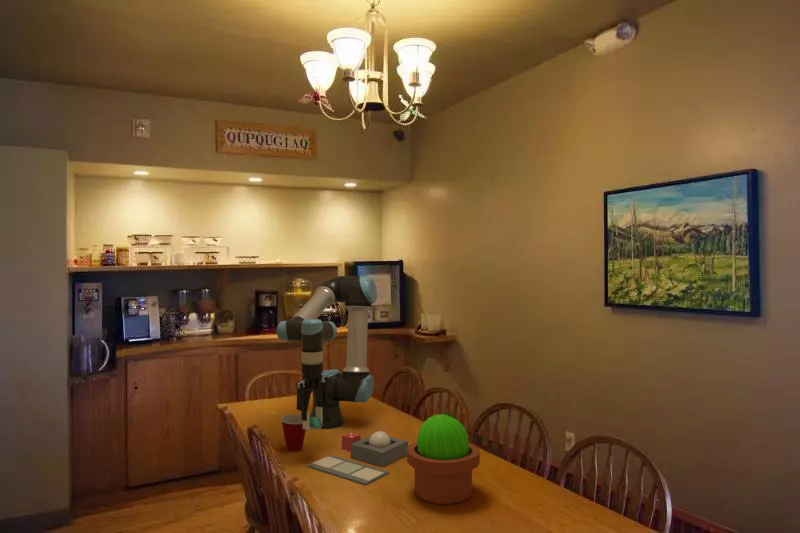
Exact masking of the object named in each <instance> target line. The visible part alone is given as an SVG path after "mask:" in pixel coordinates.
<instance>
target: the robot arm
mask: <svg viewBox="0 0 800 533" xmlns="http://www.w3.org/2000/svg"><path fill="white" fill-rule="evenodd" d="M377 298H378V291H377V286H376V282H375V281H374V279H373V278H372V277H371V276H366V275H365V276H364V275H355V276H354V275H349V276H347V275H346V276H344V275H338V276H334V277H332V278H329V279H327V280H326V281H324V282H323V283H321V284H320V285H319V286H318V287H317V288H316V289H315V291H314V292H313V296H311V298H309V299H308V301H307V302H305V303H304V305H302V307H301V308H300V309H299V310H298V311H297V312H296V313H295V314H294V315H293V316H292V317H291V319H289V320H281V321H280V322H278V323H277V326H276V335H277V336H276V337H277V338H278V339H279V340H280V341H285V342H301V362H302V364H301V374H302V379H301V381H300V382H298V381H297V382H296V383H295V385H296V410H297V411H300V413H301V414H300V415H301V418H302V420H303V429H306V430H305V431H309V430H311V429H310V425H309V419H310V418H311V417H317V418H319V420H320V422H322V423H323V425H322V426H321V427H322V428H321V429H333V428H338V427H341V426H342V425H344V423H345V419H344V415H343V412H342V409H341V404H340V403H341V402H345V403H346V402H348V403H356V404H358V403H363V404H364V403H367V402H368V401H369V400H370V399H371V397H372V394H373V393H374V392H373V391H374V388H375V378H374V376H373V375H371V374H370V369H369V368H368V367H367V360H368V359H367V356H368V352H367V351H368V330H369V329H368V326H369V325H368V323H369V321H368V320H369V311H370V310H371V309H372V307H373V305H372V304H375V303H376V302H377ZM337 303H345V304H344V307H345V309H346V310H347V311H348V314H347V316H348V317H347V336H346V337H347V338H346V339H347V343H346V365H345V367H344V368H343V369H342V373H341V372H340V370H339V369H338V368H337V369H336V368H333V369H332V368H331V369H324V368H323V367H324V366H323V365H324V364H323V362H324V361H323V360H324V357H323V356H324V352H323V348H324V347H323V344H324V343H328V342H330V341H332V340H333V339H335V338H336V336H337V333H338V329H337V326H336V324H335V323H334V322H333V321H330V320H329V321H328V320H327V321H325V320H323V321H322V320H321V319H318V318H319V317H320V316H321V314H322V313H323V312H324V311H325V310H327V308H328V307H331V306H332V305H333V304H337ZM311 394H312V408H311V411H309V405H310V400H311Z"/></svg>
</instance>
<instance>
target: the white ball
mask: <svg viewBox="0 0 800 533" xmlns="http://www.w3.org/2000/svg"><path fill="white" fill-rule="evenodd" d="M370 436H371V437H370V439H369V445H370V446H374V447H377V448H381V449H382V448H384V447H386V446H388V445H390V444H391V441H390V438H389V435H388V434H387V433H386V432H385V431H382V430H379V431H375V432H373V433H372V434H371V435H370Z"/></svg>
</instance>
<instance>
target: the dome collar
mask: <svg viewBox="0 0 800 533" xmlns="http://www.w3.org/2000/svg"><path fill="white" fill-rule="evenodd" d="M388 436H389V435H388ZM370 437H371V435H369V436H366V437H365V438H361V440H359V441H357V442H355V443H352V444H351V451H350V458H351V459H354V460H358V461H360V462H364V463H368V464H371V465H375V466H379V467H385V466H388V465H389V464H392V463H393V462H396V461H398V460H400V459H402V458H405V457H407V447H408V446H409V440H406V439H401V438H396V437H393V436H389V438H390V441H391V444H390V445H388V446H386V447H384V448H382V449H381V448H377V447H374V446H370V445H369V439H370Z"/></svg>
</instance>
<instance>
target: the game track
mask: <svg viewBox="0 0 800 533" xmlns="http://www.w3.org/2000/svg"><path fill="white" fill-rule="evenodd" d="M306 467H307V468H310V469H312V470H317V471H319V472H322V473H326V474H329V475H332V476H336V477H338V478H342V479H344V480H348V481H352V482H354V483H357V484H360V485H364V486H367V485H369V484H371V483H373V482H376V481H377V480H379V479H381V478H384V477H386V476H387V475H389V474H390V472H389V471H388V470H384V469H380V468H377V467H374V466H370V465H367V464H365V463H364V464H363V463H360V462H357V461H353V460H349V459H345V458H343V457H340V456H335V455H331V454H330V455H327V456H326V457H323V458H321V459H318V460H315V461H313V462H310V463H309V464H306Z"/></svg>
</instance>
